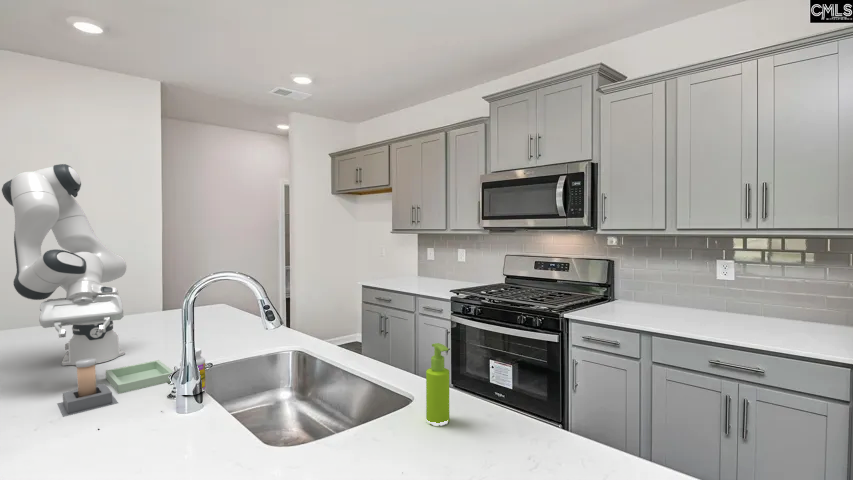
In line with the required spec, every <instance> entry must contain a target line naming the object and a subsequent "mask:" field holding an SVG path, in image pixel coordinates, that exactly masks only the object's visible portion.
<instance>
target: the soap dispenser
mask: <svg viewBox="0 0 853 480" xmlns="http://www.w3.org/2000/svg"><path fill="white" fill-rule="evenodd" d="M431 347H433V348H434V349H433V350H434V353H433V354H434V355H432V356H431V358H430V367H429V368H427V369H426V371H425V376H426V377H425V378H426V379H425V384H426V386H425V388H426V389H425V390H426V391H425V392H426V393H425V394H426V396H425V397H426V398H425V399H426V401H425V402H426V403H425V404H426V407H425V408H426V409H425V410H426V416H425V417H426V418H425V419H427V420H428V421H430V422H436V423H440V422H444V421H447V420H448V419H449V420H450V370H449V369H448V368H445V356H444V355H443V354H442V352H447V351H449V350H450V348H448V347H447V345H445V344H442V343H441V342H440V343H439V342H438V343H437V342H436V343H435V342H434V343H431Z"/></svg>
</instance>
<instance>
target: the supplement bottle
mask: <svg viewBox="0 0 853 480" xmlns="http://www.w3.org/2000/svg"><path fill="white" fill-rule="evenodd" d="M194 348H195V350H196V360H197V366H198V368H199V371H200V375H201V380H202V388H203V390H204V392H206V388H207V387H206V382H207V381H206V380H207V379H206V359H205V357H204V356H202V348H201V347H200V348H199V347H194ZM180 366H181V361H180V363H179V367H180Z"/></svg>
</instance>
